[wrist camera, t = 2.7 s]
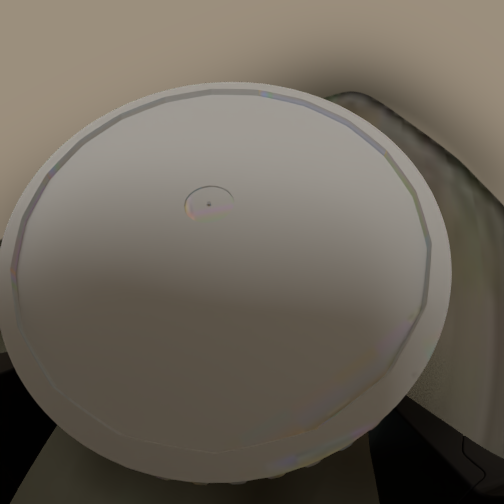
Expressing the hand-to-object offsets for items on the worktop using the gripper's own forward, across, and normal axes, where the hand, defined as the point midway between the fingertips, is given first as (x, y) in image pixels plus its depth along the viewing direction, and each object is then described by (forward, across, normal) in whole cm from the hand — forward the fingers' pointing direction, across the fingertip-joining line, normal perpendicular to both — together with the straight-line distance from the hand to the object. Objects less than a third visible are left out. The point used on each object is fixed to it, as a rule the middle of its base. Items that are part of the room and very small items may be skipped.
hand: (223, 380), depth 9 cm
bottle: (+7, 0, +6) cm, 9 cm away
